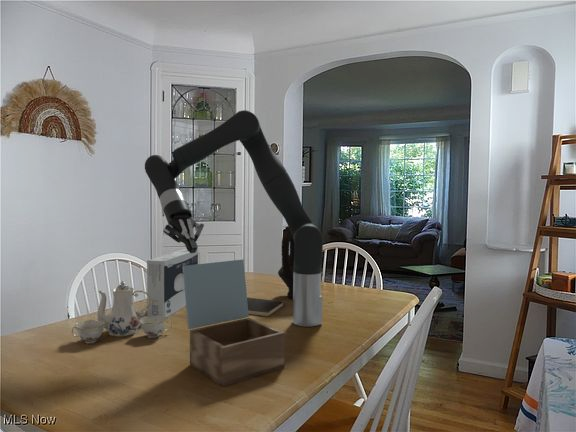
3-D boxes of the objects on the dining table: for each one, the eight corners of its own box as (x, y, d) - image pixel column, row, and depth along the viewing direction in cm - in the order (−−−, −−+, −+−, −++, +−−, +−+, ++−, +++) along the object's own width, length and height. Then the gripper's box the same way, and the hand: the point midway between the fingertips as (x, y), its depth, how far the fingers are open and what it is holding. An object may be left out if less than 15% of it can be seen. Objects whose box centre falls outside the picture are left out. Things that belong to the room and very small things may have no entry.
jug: (294, 289, 203) (295, 222, 201) (330, 295, 192) (332, 224, 190) (265, 298, 186) (265, 225, 184) (302, 305, 175) (303, 228, 173)
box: (189, 364, 116) (189, 330, 115) (248, 349, 127) (248, 317, 127) (222, 386, 103) (222, 348, 103) (284, 367, 115) (284, 332, 114)
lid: (189, 329, 115) (187, 328, 116) (248, 316, 126) (246, 316, 127) (184, 265, 116) (182, 265, 117) (243, 259, 128) (241, 259, 129)
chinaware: (71, 355, 126) (69, 298, 123) (72, 331, 141) (71, 279, 138) (174, 342, 137) (175, 289, 134) (165, 321, 152) (166, 273, 149)
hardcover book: (267, 318, 160) (267, 311, 160) (210, 311, 168) (210, 304, 168) (283, 306, 175) (283, 300, 175) (230, 300, 183) (230, 295, 183)
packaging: (163, 319, 155) (163, 261, 153) (147, 318, 156) (146, 260, 155) (198, 298, 184) (198, 249, 183) (184, 297, 186) (184, 248, 184)
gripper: (158, 198, 134) (176, 244, 125) (198, 198, 142) (218, 241, 133) (151, 215, 138) (168, 261, 129) (190, 214, 146) (209, 257, 138)
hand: (193, 251), depth 131 cm, fingers closed
